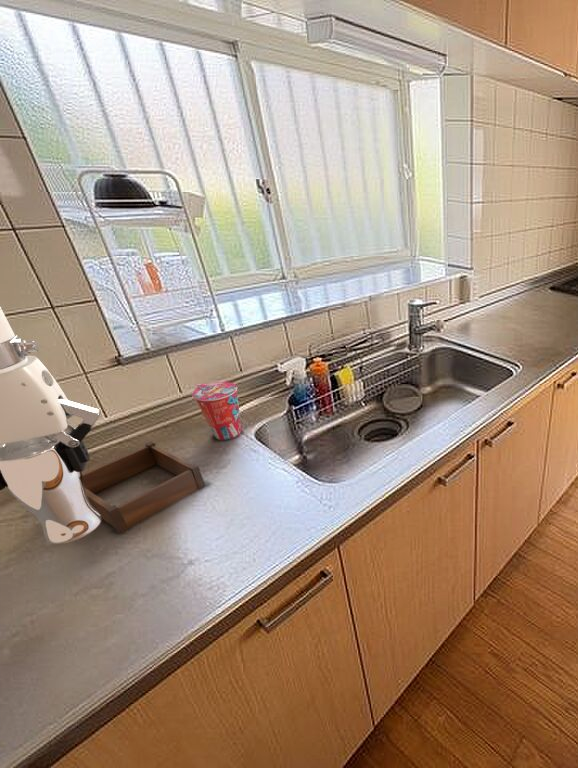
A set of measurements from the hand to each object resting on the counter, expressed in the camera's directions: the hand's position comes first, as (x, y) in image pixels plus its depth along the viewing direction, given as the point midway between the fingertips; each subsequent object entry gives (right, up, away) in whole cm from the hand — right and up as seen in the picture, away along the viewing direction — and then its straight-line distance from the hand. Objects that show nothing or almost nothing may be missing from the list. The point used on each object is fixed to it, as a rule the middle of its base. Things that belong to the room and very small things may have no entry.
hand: (43, 474), depth 58 cm
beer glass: (-1, -9, +5) cm, 10 cm away
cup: (-3, 0, +41) cm, 41 cm away
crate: (-6, -9, +23) cm, 25 cm away
